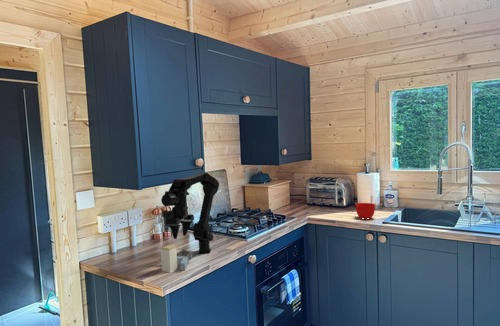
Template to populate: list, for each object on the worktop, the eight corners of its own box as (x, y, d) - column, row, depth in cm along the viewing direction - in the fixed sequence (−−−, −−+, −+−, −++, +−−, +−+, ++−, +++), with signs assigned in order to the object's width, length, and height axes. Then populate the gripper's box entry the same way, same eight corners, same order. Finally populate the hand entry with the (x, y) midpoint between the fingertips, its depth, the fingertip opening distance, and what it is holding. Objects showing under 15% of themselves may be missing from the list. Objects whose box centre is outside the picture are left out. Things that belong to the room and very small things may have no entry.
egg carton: (184, 256, 183) (184, 248, 183) (195, 258, 179) (194, 250, 179) (168, 262, 175) (168, 254, 175) (179, 265, 170) (178, 256, 170)
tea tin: (168, 267, 168) (167, 244, 167) (177, 268, 165) (176, 245, 164) (161, 270, 163) (160, 247, 162) (170, 272, 161) (169, 248, 160)
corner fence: (162, 264, 171) (162, 257, 171) (188, 263, 171) (188, 256, 171) (157, 271, 162) (157, 264, 162) (185, 270, 162) (184, 263, 162)
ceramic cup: (371, 215, 261) (371, 201, 260) (377, 220, 244) (377, 206, 243) (353, 215, 262) (353, 202, 261) (357, 220, 245) (357, 206, 245)
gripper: (175, 202, 183) (174, 233, 183) (155, 205, 165) (154, 239, 165) (194, 203, 180) (194, 234, 179) (176, 206, 162) (175, 241, 162)
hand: (179, 237), depth 171 cm, fingers open, 9 cm apart
